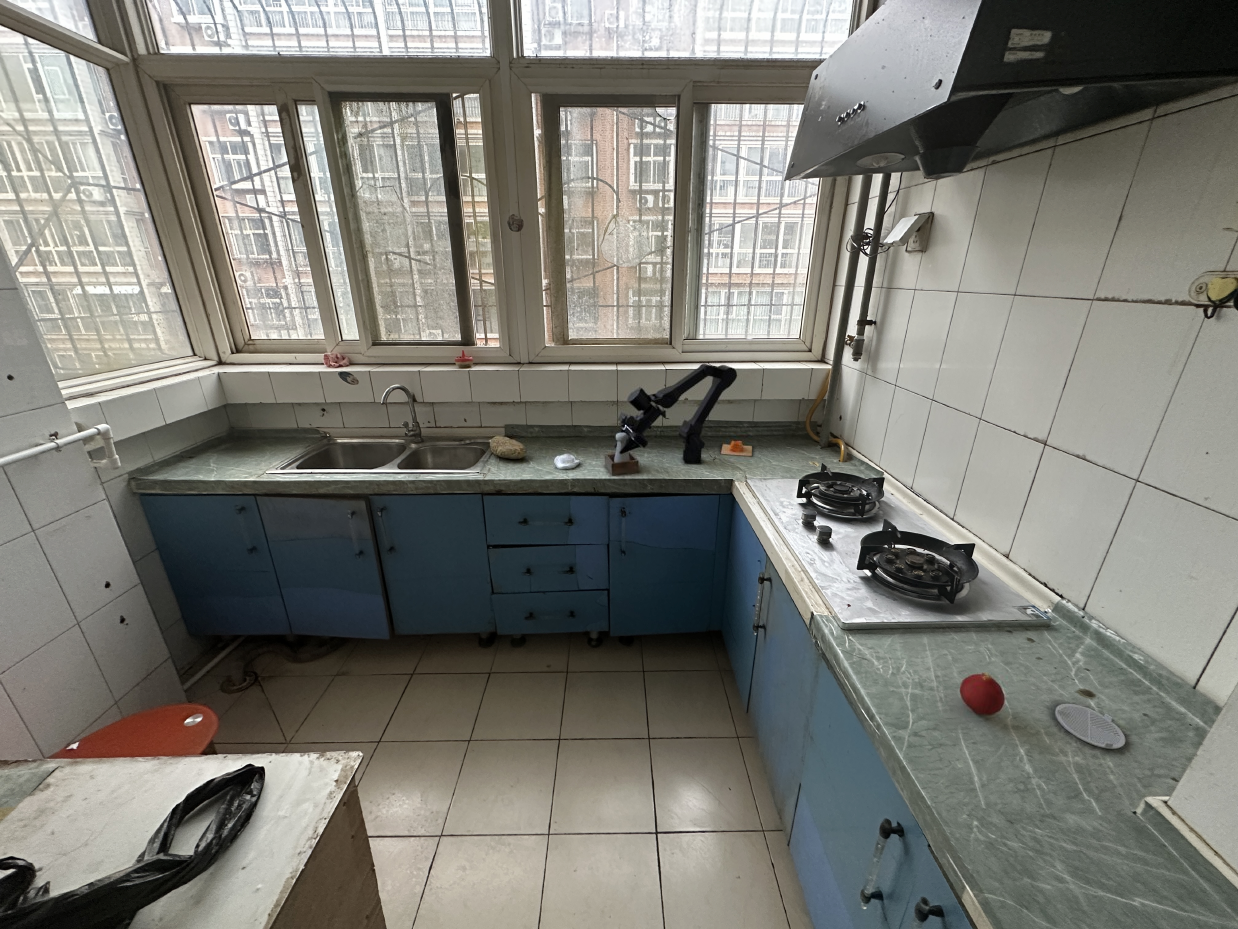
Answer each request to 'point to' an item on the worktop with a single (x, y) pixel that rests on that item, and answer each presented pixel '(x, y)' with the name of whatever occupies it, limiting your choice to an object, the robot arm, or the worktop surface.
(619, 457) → the salt shaker
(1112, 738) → the drain cover
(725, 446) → the board with orange mound
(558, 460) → the white lumpy mound
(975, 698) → the onion
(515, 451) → the tan oval lump
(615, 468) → the box
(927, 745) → the worktop surface
